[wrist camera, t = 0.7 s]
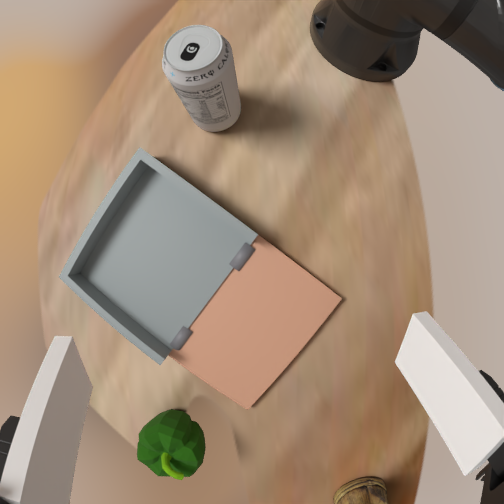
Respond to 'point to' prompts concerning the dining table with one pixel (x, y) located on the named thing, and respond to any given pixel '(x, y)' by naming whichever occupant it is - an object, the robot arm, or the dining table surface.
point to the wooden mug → (362, 492)
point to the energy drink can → (203, 76)
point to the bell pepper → (172, 445)
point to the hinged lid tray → (194, 282)
